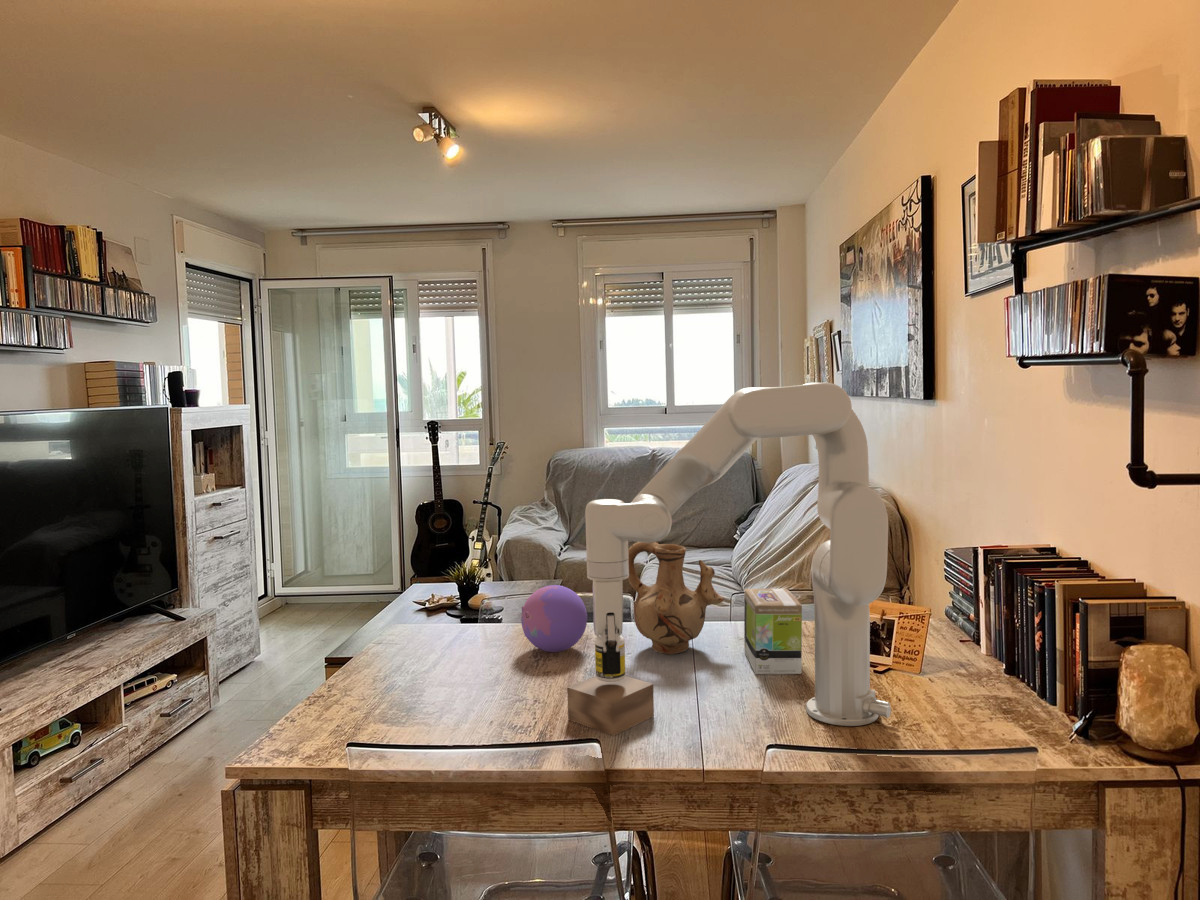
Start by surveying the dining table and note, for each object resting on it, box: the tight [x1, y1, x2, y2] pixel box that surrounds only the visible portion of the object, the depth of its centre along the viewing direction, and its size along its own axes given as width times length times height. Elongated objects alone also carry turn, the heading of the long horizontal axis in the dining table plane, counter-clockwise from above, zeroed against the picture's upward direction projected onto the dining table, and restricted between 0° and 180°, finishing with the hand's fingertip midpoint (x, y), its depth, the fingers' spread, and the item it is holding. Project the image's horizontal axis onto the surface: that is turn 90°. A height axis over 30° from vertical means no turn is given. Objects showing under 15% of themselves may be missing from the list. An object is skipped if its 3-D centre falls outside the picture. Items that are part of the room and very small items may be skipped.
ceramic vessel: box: [627, 542, 725, 655], centre depth 189 cm, size 18×19×25 cm
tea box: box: [743, 588, 803, 675], centre depth 178 cm, size 15×10×15 cm
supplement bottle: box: [594, 631, 626, 682], centre depth 150 cm, size 5×5×10 cm
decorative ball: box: [520, 584, 588, 653], centre depth 190 cm, size 15×15×15 cm
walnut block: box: [566, 675, 655, 736], centre depth 151 cm, size 11×11×6 cm
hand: (610, 666), depth 150 cm, fingers closed on supplement bottle, 5 cm apart
